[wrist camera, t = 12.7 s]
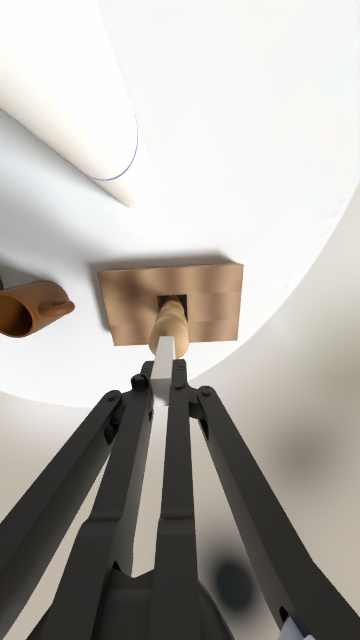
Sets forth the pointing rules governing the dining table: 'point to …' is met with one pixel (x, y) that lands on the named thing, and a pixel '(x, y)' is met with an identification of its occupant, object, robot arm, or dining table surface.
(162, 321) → the oak peg
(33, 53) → the cylindrical container
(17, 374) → the dining table surface
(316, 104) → the dining table surface
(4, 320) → the mug
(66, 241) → the dining table surface
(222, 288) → the seat board
